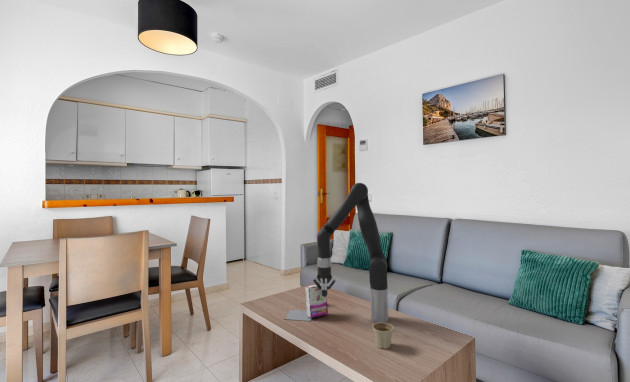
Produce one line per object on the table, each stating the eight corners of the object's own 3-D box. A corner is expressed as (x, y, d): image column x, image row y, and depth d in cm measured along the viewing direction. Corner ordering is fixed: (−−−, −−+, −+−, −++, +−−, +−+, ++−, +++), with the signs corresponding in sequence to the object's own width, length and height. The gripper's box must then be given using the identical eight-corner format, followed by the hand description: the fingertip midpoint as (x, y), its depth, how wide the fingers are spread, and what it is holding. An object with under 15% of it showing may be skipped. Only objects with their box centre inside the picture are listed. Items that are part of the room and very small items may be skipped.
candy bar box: (323, 313, 181) (321, 283, 183) (328, 314, 177) (326, 284, 179) (306, 316, 176) (304, 286, 178) (310, 318, 171) (308, 287, 174)
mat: (315, 311, 183) (315, 311, 183) (310, 321, 170) (310, 320, 170) (290, 310, 186) (290, 309, 186) (283, 319, 173) (283, 318, 173)
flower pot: (378, 338, 150) (378, 320, 150) (397, 344, 144) (397, 325, 144) (369, 346, 142) (368, 327, 142) (388, 353, 136) (387, 333, 136)
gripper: (337, 264, 177) (337, 294, 177) (314, 263, 180) (314, 293, 180) (335, 267, 170) (335, 299, 170) (311, 266, 172) (311, 298, 173)
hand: (324, 296), depth 175 cm, fingers closed
